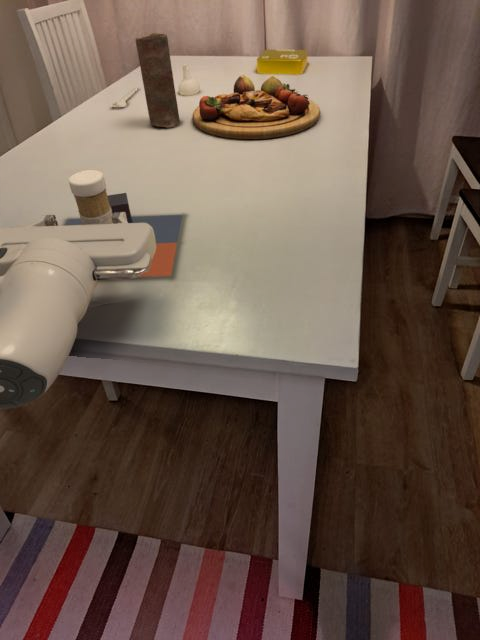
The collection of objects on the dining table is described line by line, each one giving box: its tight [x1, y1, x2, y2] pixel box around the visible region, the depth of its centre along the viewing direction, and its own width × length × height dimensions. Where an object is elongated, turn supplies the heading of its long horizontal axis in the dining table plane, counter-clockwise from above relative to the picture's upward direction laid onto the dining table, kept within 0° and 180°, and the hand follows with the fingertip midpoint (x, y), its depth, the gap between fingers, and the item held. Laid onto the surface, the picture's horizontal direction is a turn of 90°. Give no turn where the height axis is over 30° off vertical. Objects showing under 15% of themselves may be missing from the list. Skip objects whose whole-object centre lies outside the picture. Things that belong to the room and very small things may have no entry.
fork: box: [109, 87, 138, 108], centre depth 134 cm, size 3×20×2 cm, turn 173°
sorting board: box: [64, 214, 183, 278], centre depth 74 cm, size 20×18×1 cm
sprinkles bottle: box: [68, 169, 114, 225], centre depth 66 cm, size 5×5×14 cm
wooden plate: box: [192, 74, 321, 140], centre depth 115 cm, size 32×32×8 cm
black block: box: [107, 192, 133, 223], centre depth 76 cm, size 4×4×5 cm
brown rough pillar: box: [135, 32, 181, 128], centre depth 110 cm, size 8×7×20 cm
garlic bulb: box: [177, 63, 201, 97], centre depth 135 cm, size 6×6×8 cm
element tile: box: [256, 48, 309, 75], centre depth 153 cm, size 15×15×5 cm
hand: (86, 218), depth 62 cm, fingers open, 8 cm apart
